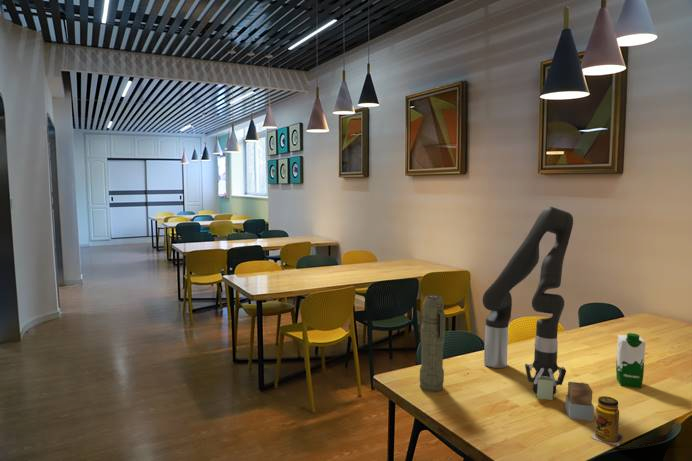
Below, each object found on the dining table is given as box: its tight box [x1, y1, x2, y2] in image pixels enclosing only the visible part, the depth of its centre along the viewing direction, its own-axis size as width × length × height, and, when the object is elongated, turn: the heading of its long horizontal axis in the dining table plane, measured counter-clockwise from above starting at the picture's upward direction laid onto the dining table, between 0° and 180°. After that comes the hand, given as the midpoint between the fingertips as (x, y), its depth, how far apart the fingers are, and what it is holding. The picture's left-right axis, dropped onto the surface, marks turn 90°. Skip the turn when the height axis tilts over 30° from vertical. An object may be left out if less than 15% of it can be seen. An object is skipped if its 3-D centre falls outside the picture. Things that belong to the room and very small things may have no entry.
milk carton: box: [615, 332, 646, 389], centre depth 179 cm, size 9×9×20 cm
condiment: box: [590, 395, 625, 447], centre depth 139 cm, size 7×8×12 cm
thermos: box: [419, 294, 447, 393], centre depth 173 cm, size 9×12×35 cm
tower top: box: [567, 381, 593, 406], centre depth 153 cm, size 6×6×5 cm
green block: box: [535, 376, 554, 401], centre depth 167 cm, size 5×5×7 cm
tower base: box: [564, 394, 595, 422], centre depth 153 cm, size 7×7×5 cm
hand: (544, 393), depth 167 cm, fingers closed on green block, 5 cm apart
